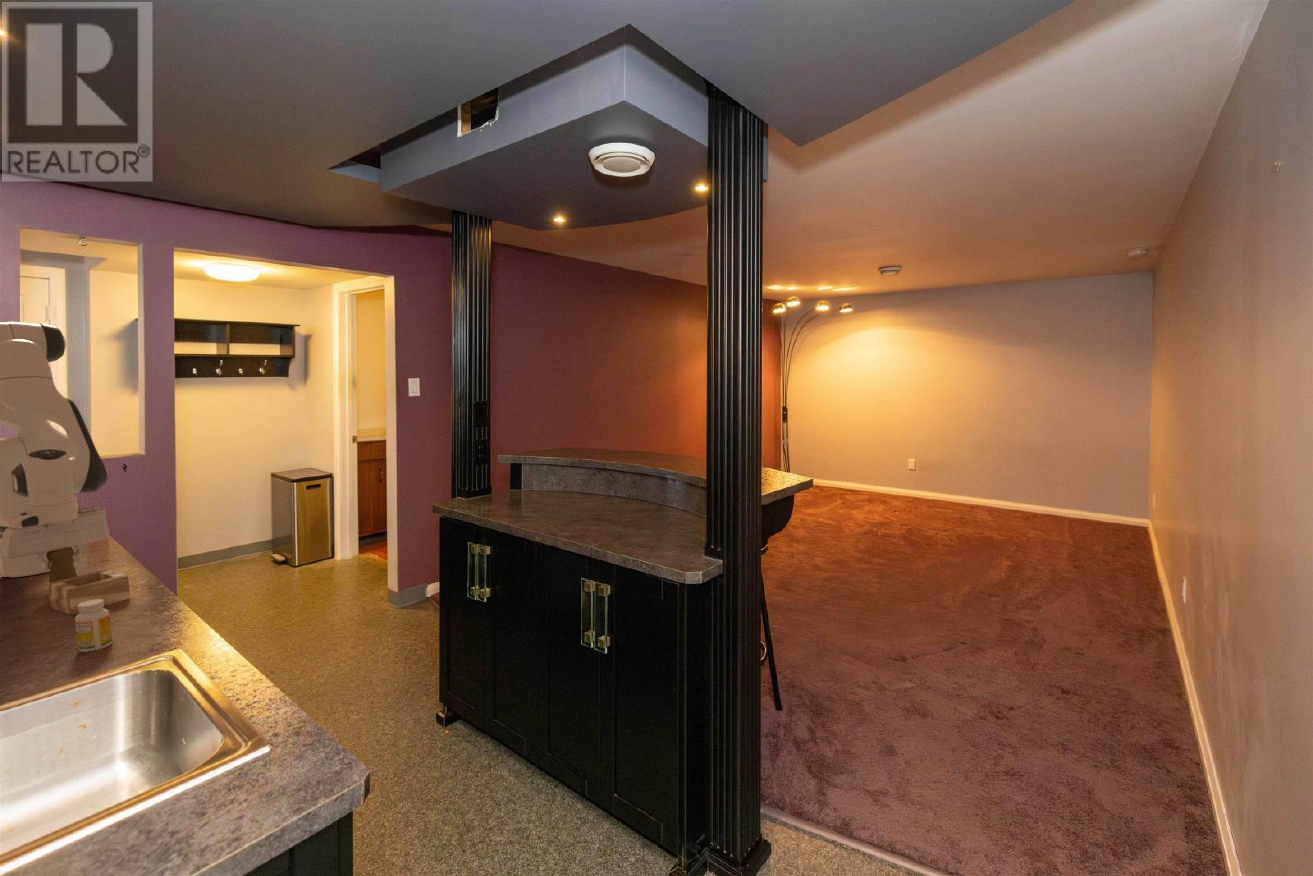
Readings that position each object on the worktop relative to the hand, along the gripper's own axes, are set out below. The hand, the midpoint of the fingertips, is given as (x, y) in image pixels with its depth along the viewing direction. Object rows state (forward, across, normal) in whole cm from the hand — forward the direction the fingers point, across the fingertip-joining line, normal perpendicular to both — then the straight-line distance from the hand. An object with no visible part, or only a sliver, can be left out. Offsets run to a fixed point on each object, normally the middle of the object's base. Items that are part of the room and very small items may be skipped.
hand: (61, 565), depth 161 cm
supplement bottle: (+6, +12, +48) cm, 50 cm away
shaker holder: (+7, +1, +16) cm, 17 cm away
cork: (+6, 0, 0) cm, 6 cm away
